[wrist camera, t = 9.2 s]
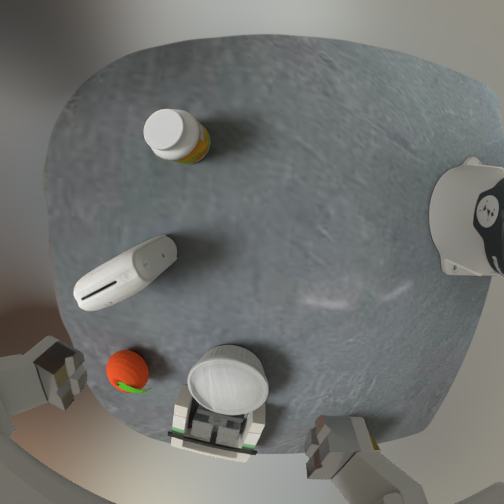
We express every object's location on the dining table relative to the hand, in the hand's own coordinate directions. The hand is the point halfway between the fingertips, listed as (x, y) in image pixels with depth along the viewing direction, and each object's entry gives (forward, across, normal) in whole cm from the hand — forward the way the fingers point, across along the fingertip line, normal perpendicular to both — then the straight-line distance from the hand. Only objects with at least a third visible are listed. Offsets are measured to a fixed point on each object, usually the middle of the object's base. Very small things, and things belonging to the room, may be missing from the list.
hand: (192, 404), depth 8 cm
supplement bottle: (+27, +10, -10) cm, 31 cm away
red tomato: (+27, +14, +24) cm, 38 cm away
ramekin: (+27, -1, +20) cm, 34 cm away
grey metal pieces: (+27, -1, +31) cm, 41 cm away
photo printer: (+27, +13, +6) cm, 31 cm away
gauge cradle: (+27, -1, +33) cm, 42 cm away
